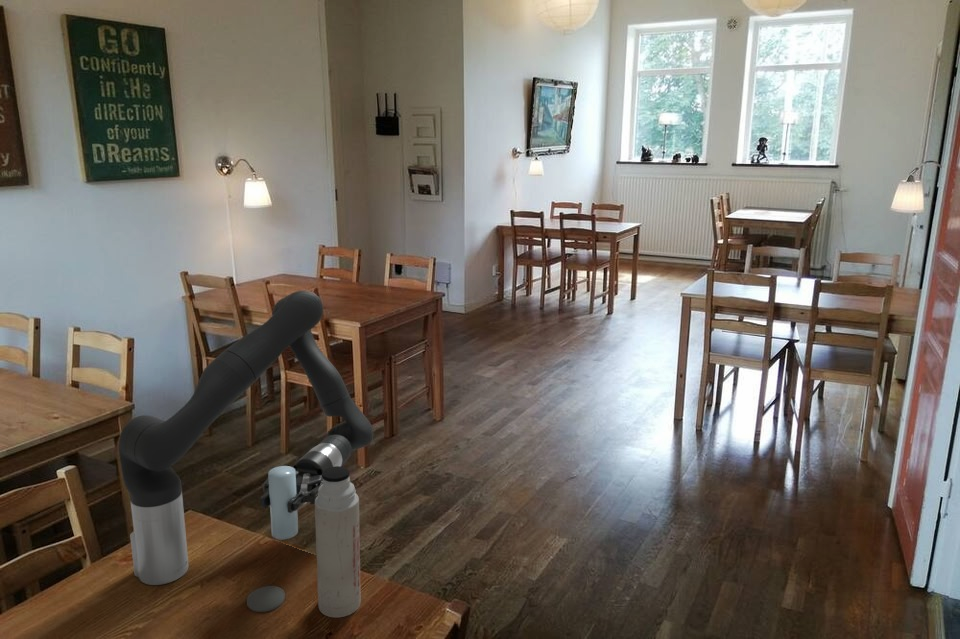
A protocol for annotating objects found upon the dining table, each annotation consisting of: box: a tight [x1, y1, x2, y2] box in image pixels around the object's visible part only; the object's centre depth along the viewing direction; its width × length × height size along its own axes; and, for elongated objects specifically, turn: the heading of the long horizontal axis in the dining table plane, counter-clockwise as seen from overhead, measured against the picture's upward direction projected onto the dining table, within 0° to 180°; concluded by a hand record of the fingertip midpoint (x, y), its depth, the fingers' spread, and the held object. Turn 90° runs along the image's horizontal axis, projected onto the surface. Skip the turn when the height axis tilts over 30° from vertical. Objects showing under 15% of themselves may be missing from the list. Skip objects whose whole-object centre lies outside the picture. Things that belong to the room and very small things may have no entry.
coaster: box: [246, 585, 286, 613], centre depth 131 cm, size 7×7×1 cm
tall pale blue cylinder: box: [267, 465, 299, 540], centre depth 131 cm, size 5×5×13 cm
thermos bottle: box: [314, 466, 362, 619], centre depth 127 cm, size 8×8×28 cm
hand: (276, 505), depth 129 cm, fingers closed on tall pale blue cylinder, 5 cm apart
